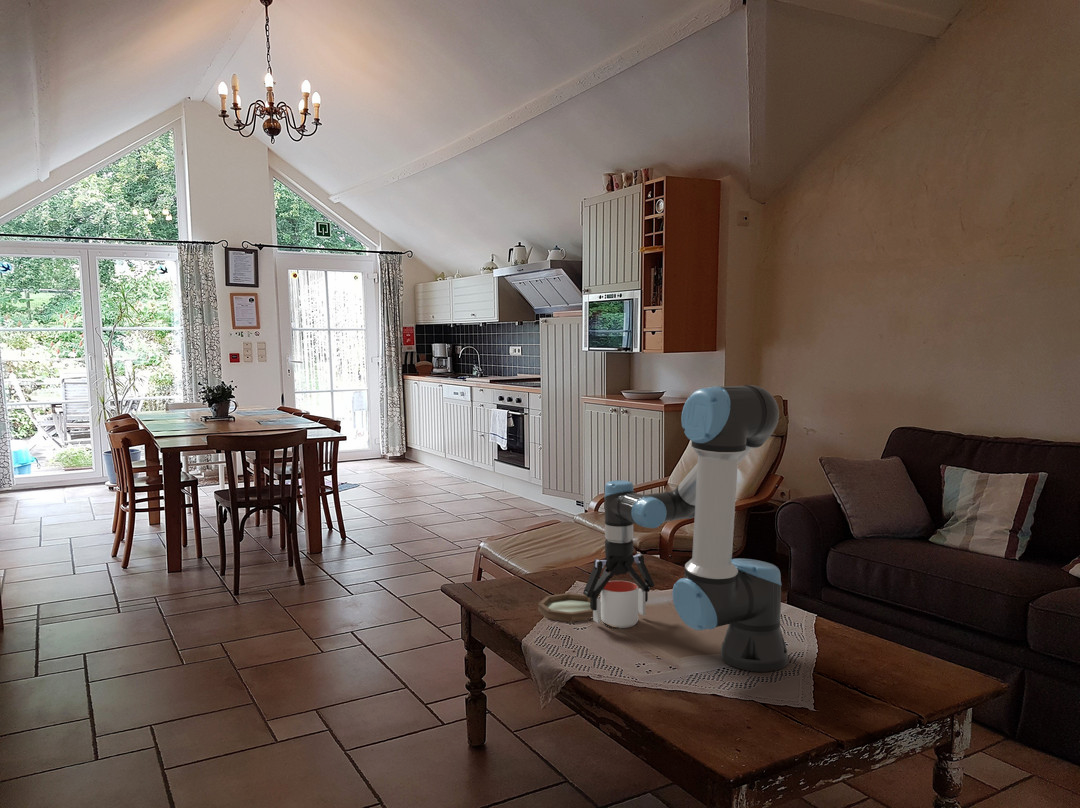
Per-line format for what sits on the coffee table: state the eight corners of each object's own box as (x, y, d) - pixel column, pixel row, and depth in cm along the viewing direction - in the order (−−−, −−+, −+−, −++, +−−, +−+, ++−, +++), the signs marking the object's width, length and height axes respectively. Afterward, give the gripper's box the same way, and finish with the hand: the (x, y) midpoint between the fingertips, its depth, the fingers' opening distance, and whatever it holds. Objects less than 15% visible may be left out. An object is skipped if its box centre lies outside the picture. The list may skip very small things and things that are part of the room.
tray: (609, 615, 209) (609, 607, 209) (555, 624, 203) (555, 616, 203) (583, 597, 224) (583, 590, 224) (531, 606, 218) (531, 598, 218)
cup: (640, 629, 199) (640, 592, 198) (601, 630, 199) (601, 592, 198) (636, 616, 209) (636, 580, 208) (599, 616, 209) (599, 580, 208)
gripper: (652, 531, 211) (652, 606, 212) (570, 541, 201) (571, 620, 202) (667, 537, 204) (666, 615, 205) (583, 548, 194) (583, 629, 196)
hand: (619, 617), depth 204 cm, fingers open, 13 cm apart
